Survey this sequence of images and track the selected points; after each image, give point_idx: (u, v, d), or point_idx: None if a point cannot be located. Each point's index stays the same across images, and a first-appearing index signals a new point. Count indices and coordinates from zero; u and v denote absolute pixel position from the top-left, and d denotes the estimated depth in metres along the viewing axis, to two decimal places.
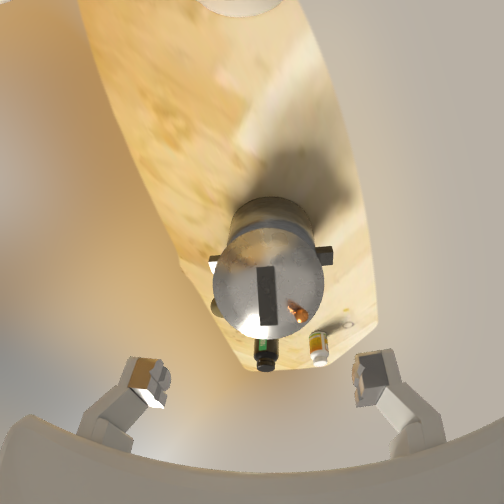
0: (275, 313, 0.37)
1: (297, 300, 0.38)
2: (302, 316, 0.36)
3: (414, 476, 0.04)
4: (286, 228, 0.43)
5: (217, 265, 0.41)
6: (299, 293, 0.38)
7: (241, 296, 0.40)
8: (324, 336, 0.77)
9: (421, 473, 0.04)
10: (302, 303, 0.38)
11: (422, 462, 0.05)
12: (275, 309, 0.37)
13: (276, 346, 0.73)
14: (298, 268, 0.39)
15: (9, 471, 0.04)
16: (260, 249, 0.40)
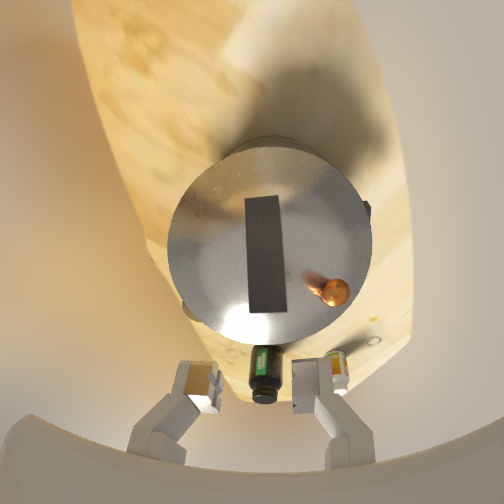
0: (282, 286, 0.18)
1: (324, 266, 0.19)
2: (337, 293, 0.17)
3: (414, 476, 0.04)
4: None
5: (178, 208, 0.23)
6: (327, 252, 0.20)
7: (216, 260, 0.21)
8: (342, 357, 0.55)
9: (421, 473, 0.04)
10: (334, 271, 0.19)
11: (422, 462, 0.05)
12: (282, 278, 0.18)
13: (279, 370, 0.52)
14: (323, 208, 0.21)
15: (9, 471, 0.04)
16: (254, 178, 0.22)
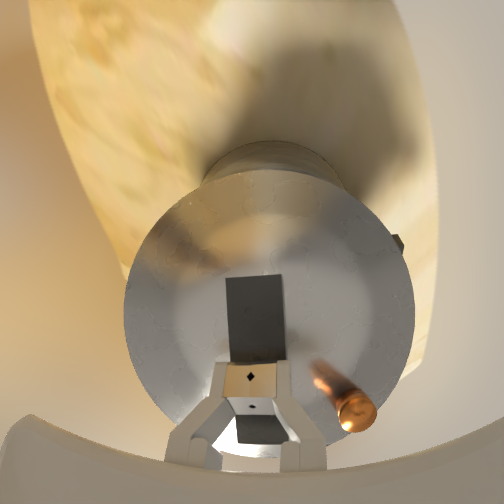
0: None
1: (344, 369, 0.12)
2: (360, 417, 0.10)
3: (414, 476, 0.04)
4: None
5: (133, 269, 0.15)
6: (350, 350, 0.13)
7: (190, 354, 0.14)
8: None
9: (421, 473, 0.04)
10: (357, 376, 0.12)
11: (422, 462, 0.05)
12: None
13: None
14: (350, 280, 0.13)
15: (9, 471, 0.04)
16: (242, 226, 0.14)
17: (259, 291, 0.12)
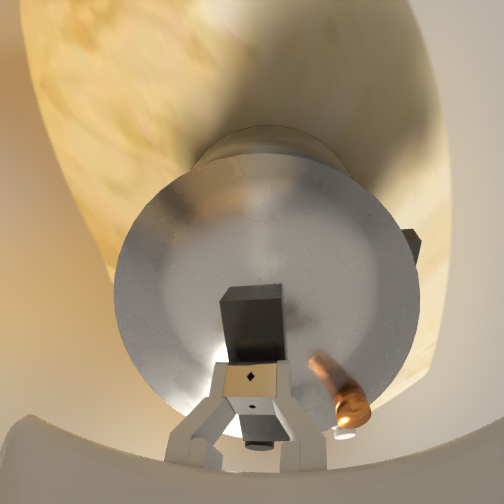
0: None
1: (343, 369, 0.13)
2: (355, 418, 0.11)
3: (414, 476, 0.04)
4: None
5: (118, 275, 0.13)
6: (350, 353, 0.12)
7: (190, 358, 0.14)
8: None
9: (421, 473, 0.04)
10: (355, 375, 0.13)
11: (422, 462, 0.05)
12: None
13: None
14: (355, 286, 0.12)
15: (9, 471, 0.04)
16: (233, 226, 0.12)
17: (257, 315, 0.11)
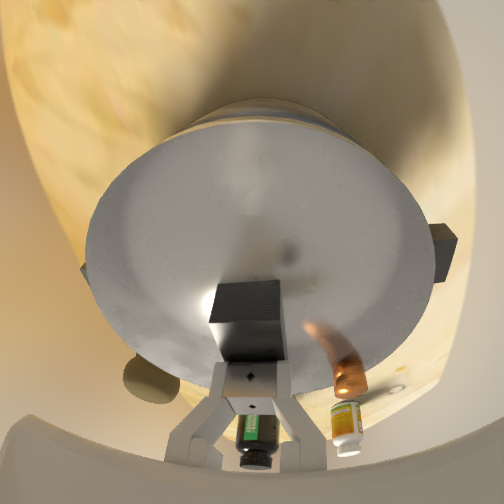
0: None
1: (343, 347, 0.13)
2: (352, 392, 0.13)
3: (414, 476, 0.04)
4: (320, 123, 0.09)
5: (90, 274, 0.11)
6: (352, 335, 0.12)
7: (185, 342, 0.13)
8: (356, 410, 0.39)
9: (421, 473, 0.04)
10: (355, 351, 0.13)
11: (422, 462, 0.05)
12: None
13: (275, 432, 0.36)
14: (364, 280, 0.10)
15: (9, 471, 0.04)
16: (214, 221, 0.09)
17: (253, 334, 0.09)
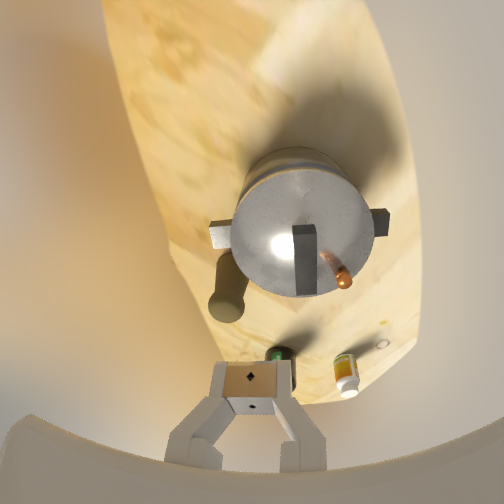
0: (315, 283, 0.30)
1: (339, 260, 0.31)
2: (345, 283, 0.31)
3: (414, 476, 0.04)
4: (328, 169, 0.27)
5: (234, 223, 0.29)
6: (342, 253, 0.30)
7: (270, 257, 0.31)
8: (353, 359, 0.57)
9: (421, 473, 0.04)
10: (344, 263, 0.31)
11: (422, 462, 0.05)
12: (315, 279, 0.30)
13: (293, 372, 0.53)
14: (344, 225, 0.28)
15: (9, 471, 0.04)
16: (294, 201, 0.27)
17: (307, 240, 0.27)
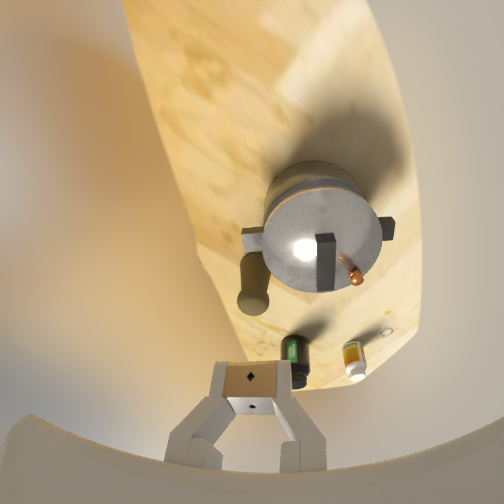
0: (333, 281, 0.36)
1: (353, 261, 0.36)
2: (357, 281, 0.36)
3: (414, 476, 0.04)
4: (345, 186, 0.32)
5: (266, 232, 0.34)
6: (355, 255, 0.35)
7: (295, 260, 0.37)
8: (360, 346, 0.63)
9: (421, 473, 0.04)
10: (357, 264, 0.36)
11: (422, 462, 0.05)
12: (333, 278, 0.35)
13: (307, 358, 0.59)
14: (358, 233, 0.33)
15: (9, 471, 0.04)
16: (318, 214, 0.32)
17: (328, 246, 0.33)
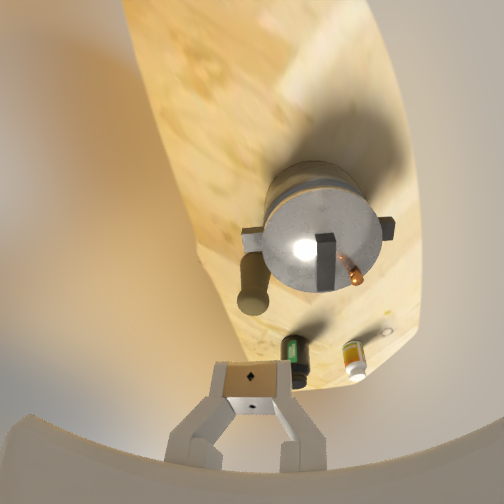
0: (333, 281, 0.36)
1: (353, 261, 0.36)
2: (357, 281, 0.36)
3: (414, 476, 0.04)
4: (345, 186, 0.32)
5: (266, 232, 0.34)
6: (355, 255, 0.35)
7: (295, 260, 0.37)
8: (360, 346, 0.63)
9: (421, 473, 0.04)
10: (357, 264, 0.36)
11: (422, 462, 0.05)
12: (333, 278, 0.35)
13: (308, 358, 0.59)
14: (358, 233, 0.33)
15: (9, 471, 0.04)
16: (318, 214, 0.32)
17: (328, 246, 0.33)
